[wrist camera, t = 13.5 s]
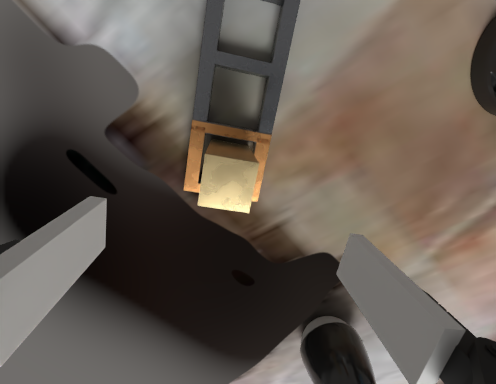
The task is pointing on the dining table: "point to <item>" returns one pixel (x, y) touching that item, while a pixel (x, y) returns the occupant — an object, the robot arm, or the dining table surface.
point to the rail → (245, 65)
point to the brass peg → (228, 176)
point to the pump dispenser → (335, 353)
